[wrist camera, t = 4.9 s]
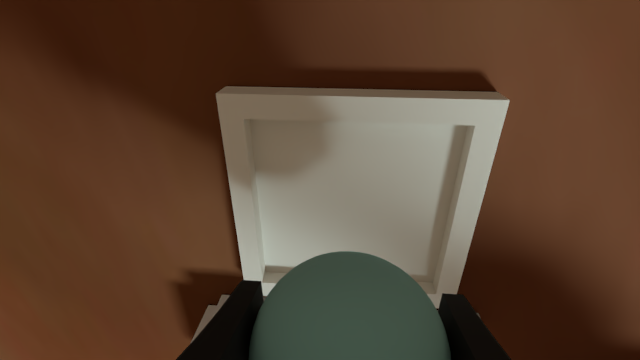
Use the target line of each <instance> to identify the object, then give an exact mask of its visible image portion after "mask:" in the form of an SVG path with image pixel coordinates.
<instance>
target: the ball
mask: <svg viewBox="0 0 640 360" xmlns="http://www.w3.org/2000/svg"><path fill="white" fill-rule="evenodd" d="M249 360H451V352H450V347H449V343H448V338H447V334H446V330H445V328H444V325H443V322H442V320H441V318H440V316H439V313H438V311H437V310H436V308H435V306H434V304H433V302H432V301H431V299H430V298H429V297H428V295H427V294H426V293H425V291H424V290H423V289H422V287H421V286H420V285H419V284H418V283H417V282H416V281H415V280H414V279H413V278H412V277H411V276H409V275H408V274H407V273H406V272H404V271H403V270H402V269H401V268H399V267H397V266H396V265H394V264H392V263H390V262H388V261H387V260H384V259H382V258H380V257H377V256H374V255H371V254H367V253H361V252H353V251H339V252H330V253H326V254H321V255H318V256H315V257H313V258H311V259H309V260H306V261H304V262H303V263H301V264H299V265H297V266H296V267H294V268H293V269H292V270H290V271H289V272H288V273H287V274H286V275H285V276H283V277H282V278H281V279H280V280H279V281H278V282H277V284H276V285H275V286H274V287H273V289H272V290H271V291H270V292H269V294H268V295H267V297H266V299H265V300H264V302H263V304H262V306H261V308H260V310H259V312H258V315H257V318H256V321H255V323H254V326H253V330H252V334H251V339H250V346H249Z"/></svg>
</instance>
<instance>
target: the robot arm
mask: <svg viewBox="0 0 640 360" xmlns="http://www.w3.org/2000/svg"><path fill="white" fill-rule="evenodd" d="M263 302H264V300H263V292H262V283H261V281H251V280H242V281H241V282H240V283H239V284H238V285H237V287H236V288H235V290H234V291H233V292H232V294H231V295H230V296H229V298H228V299H227V300H226V301H225V303H224V304H223V305H222V307H221V308H220V309H219V310H218V312H217V313H216V314H215V315H214V317H213V318H212V319H211V320H210V321H209V323H208V324H207V325H206V326H205V327H204V329H203V330H202V331H201V332H200V333H199V335H198V336H197V337H196V338H195V339H194V340H193V341H192V343H191V344H190V345H189V346H188V347H187V348H186V349H185V350H184V351H183V352H182V354H181V355H180V356H179V357H178V358H177V359H176V360H249V346H250V339H251V334H252V330H253V326H254V323H255V321H256V318H257V315H258V312H259V310H260V308H261V306H262V304H263ZM438 313H439V316H440V318H441V320H442V322H443V325H444V328H445V330H446V334H447V338H448V343H449V347H450V352H451V360H511V359H510V357H509V356H508V355H507V353H506V352H505V351H504V350H503V348H502V347H501V346H500V344H499V343H498V342H497V341H496V339H495V338H494V337H493V335H492V334H491V332H490V331H489V330H488V328H487V327H486V326H485V324H484V323H483V322H482V320H481V319H480V317H479V316H478V315H477V313H476V312H475V310H474V309H473V308H472V306H471V305H470V303H469V302H468V300H467V299H466V298H465V297H464V295H460V294H445V293H442V297H441V301H440V305H439V309H438Z"/></svg>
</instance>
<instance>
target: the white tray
mask: <svg viewBox="0 0 640 360" xmlns="http://www.w3.org/2000/svg"><path fill="white" fill-rule="evenodd" d="M216 100H217V106H218V113H219V120H220V126H221V133H222V139H223V146H224V153H225V159H226V166H227V173H228V179H229V186H230V192H231V199H232V206H233V212H234V219H235V225H236V232H237V239H238V245H239V252H240V259H241V265H242V272H243V278H244V280H251V281H261V283H262V292H263V296H267V295H268V294H269V292H270V291H271V290H272V289H273V287H274V286H275V285H276V284H277V282H278V281H279V280H280V279H281V278H282V277H283V276H285V275H286V274H287V273H288V272H289V271H290V270H292V269H293V268H294V267H296V266H297V265H299V264H301V263H303V262H304V261H306V260H309V259H311V258H313V257H315V256H318V255H321V254H326V253H330V252H339V251H353V252H361V253H367V254H371V255H374V256H377V257H380V258H382V259H384V260H387V261H388V262H390V263H392V264H394V265H396V266H397V267H399V268H401V269H402V270H403V271H404V272H406V273H407V274H408V275H409V276H411V277H412V278H413V279H414V280H415V281H416V282H417V283H418V284H419V285H420V286H421V287H422V289H423V290H424V291H425V293H426V294H427V295H428V297H429V298H430V299H431V301H432V302H433V304H434V306H435V308H439V305H440V301H441V297H442V293H445V294H457V292H458V288H459V284H460V281H461V277H462V273H463V270H464V266H465V262H466V259H467V255H468V251H469V248H470V244H471V240H472V237H473V233H474V229H475V226H476V222H477V218H478V215H479V211H480V207H481V204H482V200H483V196H484V193H485V189H486V185H487V182H488V178H489V174H490V171H491V167H492V163H493V160H494V156H495V152H496V149H497V145H498V142H499V138H500V134H501V131H502V127H503V123H504V120H505V116H506V112H507V109H508V105H509V101H510V100H509V99H507V98H506V97H504V96H503V95H501V94H500V93H499V92H481V91H433V90H385V89H337V88H289V87H241V86H225V87H224V88H223V89H221V90H220V91H218V92H217V93H216Z"/></svg>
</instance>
